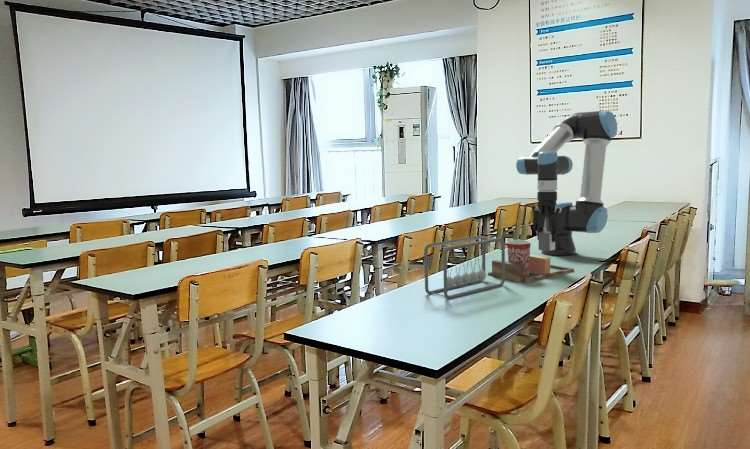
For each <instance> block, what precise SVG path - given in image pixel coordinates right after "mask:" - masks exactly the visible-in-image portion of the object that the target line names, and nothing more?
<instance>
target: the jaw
mask: <svg viewBox="0 0 750 449" xmlns="http://www.w3.org/2000/svg"><path fill="white" fill-rule="evenodd" d="M551 260H552V257H549V256H545V255H544V256H543V255H536V254H531V253H530V260H529V274H535V275H538V276H540V275H544V274H549V273H551V268H550V265H551Z"/></svg>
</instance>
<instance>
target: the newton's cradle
mask: <svg viewBox="0 0 750 449" xmlns="http://www.w3.org/2000/svg"><path fill="white" fill-rule="evenodd" d="M476 240H479V241H476ZM470 241H471V242H470ZM497 242H501V260H502V278H501V281H500V283H494V282H490V281H486V280H485V279H486V278H487V272H486V244H491V243H497ZM458 243H459V244H458ZM454 244H456V245H454ZM447 245H448V246H447ZM480 245H481V252H482V253H481V259H482V260H481V262H482V263H481V266H480V264H478V268H479V270H477V271H475V270H476V266H474V268H471V270H472V271H471V272H469V273H468V271H466V270H465V269H466V268H468V266H469V263H466V264H467V265H466V268H465V267H463V269H464V270H463V271H464V273H463V274H461V275H460V274H459V273H456V275H454V276H453V277H452V272H450V274H449V272H448V270H449V268H448V267H449V266H448V255H447V254H448V252H449V251H451V250H453V252H452V253H453V254H452V257H453V259H452V261H451V264H453V261H454V263H455V265H457V262H456V260H454V259H456V255H455V250H457V249H460V250H461V254H460V257H461V259H460V261H459V264H461V263H462V262H463V263H462V264H463V265H465V262H464V260H462V259H464V256H463V248H468V254H471V251H470V250H471V248H470V247H475V248H476V250H478V247H479V246H480ZM505 245H506V242H505V240H504V239H503V238H502V237H497V238H496V237H488V236H483V235H482V234H481V235H472V236H469V237H467V236H466V237H462V238H456V239H450V240H444V241H437V242H433V243H428V244H426V245H425V247H424V249H423V250H424V251H423V252H424V253H423V255H424V258H423V259H424V263H423V264H424V290H425V293H427V294H428V295H436V296H440V297H444V298H445V299H447V300H452V299H455V298H461V297H465V296H467V295H468V296H469V295H472V294H476V293H479V292H483V291H488V290H491V289H496V288H501V287H503V286H504V284H505V282H506V279H505V261H506V260H505V259H506V252H505V251H506V247H505ZM431 247H435V248H440V249H443V253H442V256H443V257H442V258H443V259H442V262H443V265H442V266H443V287H442V288H438V289H433V290H429V260H428V259H429V257H428V253H429V252H428V250H429V248H431ZM478 252H479V251H476V252H475V254H476V255H475V256H479V254H478ZM469 260H472V258H471V255H468V258H467V261H469ZM461 261H462V262H461ZM476 261H478V263H480V259H479V258H475V262H474V264H476ZM470 265H471V267H473V264H472V262H470ZM452 267H453V265H451V266H450V271H452V269H453V268H452ZM455 269H456V270H455V271H456V272H460V269H461V267H459V269H457V267H455ZM457 270H458V271H457ZM480 283H485V284H489V285H488V286H484V287H480V288H476V289H471V290H467V291H463V292H459V293H456V294H455V293H454V294H452V295H449V294H448V291H450V290H455V289H459V288H463V287H467V286H471V285H476V284H480ZM442 292H443V294H440V293H442Z"/></svg>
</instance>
